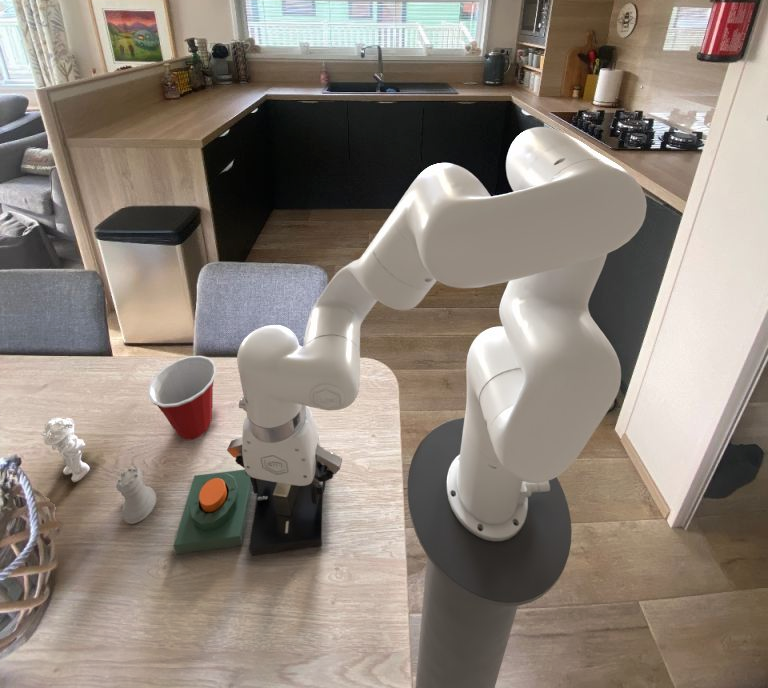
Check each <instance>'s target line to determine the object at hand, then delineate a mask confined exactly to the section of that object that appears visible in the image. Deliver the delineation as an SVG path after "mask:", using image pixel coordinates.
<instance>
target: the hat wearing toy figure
mask: <svg viewBox="0 0 768 688" xmlns="http://www.w3.org/2000/svg"><path fill="white" fill-rule="evenodd" d="M75 425H76V424H75V421H74V420H73V419H72V418H70V417H67V418H64V419H63V418H61V417H53V418H50V419H49V420H48V421H47V422H46V423H45V424H44V430H43V431H41V436H42V437H44V438H43V443H44V445H46V446H51V449H52V451H54V450H56V449H57V451H58V452H59V453H60V456H61V457H62V459H63V464H64V465H66V466H65V467H64V468H63V470H62V473H63V474H64V475H65V476H68V475H70V474H71V475H72V476H71V478H70V479H71V481H72V482H73V483H77V482H78V481H79V482H80V480H82V479H83V478H84V477H85V476H86V475H87V474H88V473H89V472H90V466H89V465H88V464H87V463H86V462H83V461H82V454H83V451H84V447H85V446H86V443H85V442H84V440H83V439H82V438H80V439H79V437H78V436H77V435H75Z"/></svg>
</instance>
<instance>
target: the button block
mask: <svg viewBox="0 0 768 688" xmlns="http://www.w3.org/2000/svg"><path fill="white" fill-rule="evenodd" d="M215 478H219V479H222V480H223V481H224V483H225V486H226V490H227V497H226V500H225V502H224V504H223V505H222V506H221V507H220V508H219V509H218V510H216V511H214V512H210V513H209V512H205V511H204V510H203V509H202V507H201V504H200V500H199V494H200V491H201V489H202V487H203V486H204V485H205V484H206V483H207V482H208V481H210V480H212V479H215ZM252 490H253V486H252V483H251V480H250V476H247V475H246V474H245V468H243V469H236V470H228V471H221V472H212V473H203V474H196V475H195V474H194V476H193V479H192V483H191V486H190V489H189V492H188V496H187V499H186V502H185V506H184V509H183V513H182V516H181V518H180V521H179V526H178V529H177V533H176V535H175V539H174V542H173V548H174V552H175V554H176V555H181V554H187V553H194V552H200V551H208V550H214V549H220V548H229V547H234V546H241V545H243V540H244V535H245V529H246V524H247V519H248V518H247V517H248V511H249V505H250V500H251V494H252Z"/></svg>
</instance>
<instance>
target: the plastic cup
mask: <svg viewBox="0 0 768 688" xmlns="http://www.w3.org/2000/svg"><path fill="white" fill-rule="evenodd" d="M216 366H217V365H216V362H215V361H214V360H212V359H211V358H210V357H207V356H204V355H189V356H186V357H183V358H180V359H176V360H175V361H173V362H171V363H169V364H168V365H166V366H164V367H163V368H162V369H161V370H160V371H159V372H157V373H156V374H155V376H154V377H153V378H152V380H151V381H150V383H149V385H148V388H147V397H148V398H149V400H150V401H151V403H152V404H153V405H155V406H157V407H158V409H159V410H160V412H162V414H163V415H164V416H165V418H166V419H167V422H168V423H169V424H170V426H171V427H172V428H173V430H175V432H176V434H177V435H178V437H180V438H181V439H183V440H185V441H190V440H194V439H197V438H199V437H201V436H202V435H203V434H205V433H206V432H207V431H208V429H209V428H210V426H211V423H212V420H213V408H214V407H213V405H214V403H213V401H214V399H213V397H214V396H213V395H214V392H213V389H214V381H215V377H216V375H217V367H216Z"/></svg>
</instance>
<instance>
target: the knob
mask: <svg viewBox="0 0 768 688" xmlns="http://www.w3.org/2000/svg"><path fill="white" fill-rule="evenodd" d="M299 487H300V486H298V485H291V484H284V483H278V482H277V484H276V487H275V489H274V492H273V498H274V504H275V510H276V514H277V515H283V516H288V517H290V516H291V513H292V510H293V506H294V503H295V500H296V496H297V493H298V490H299Z"/></svg>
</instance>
